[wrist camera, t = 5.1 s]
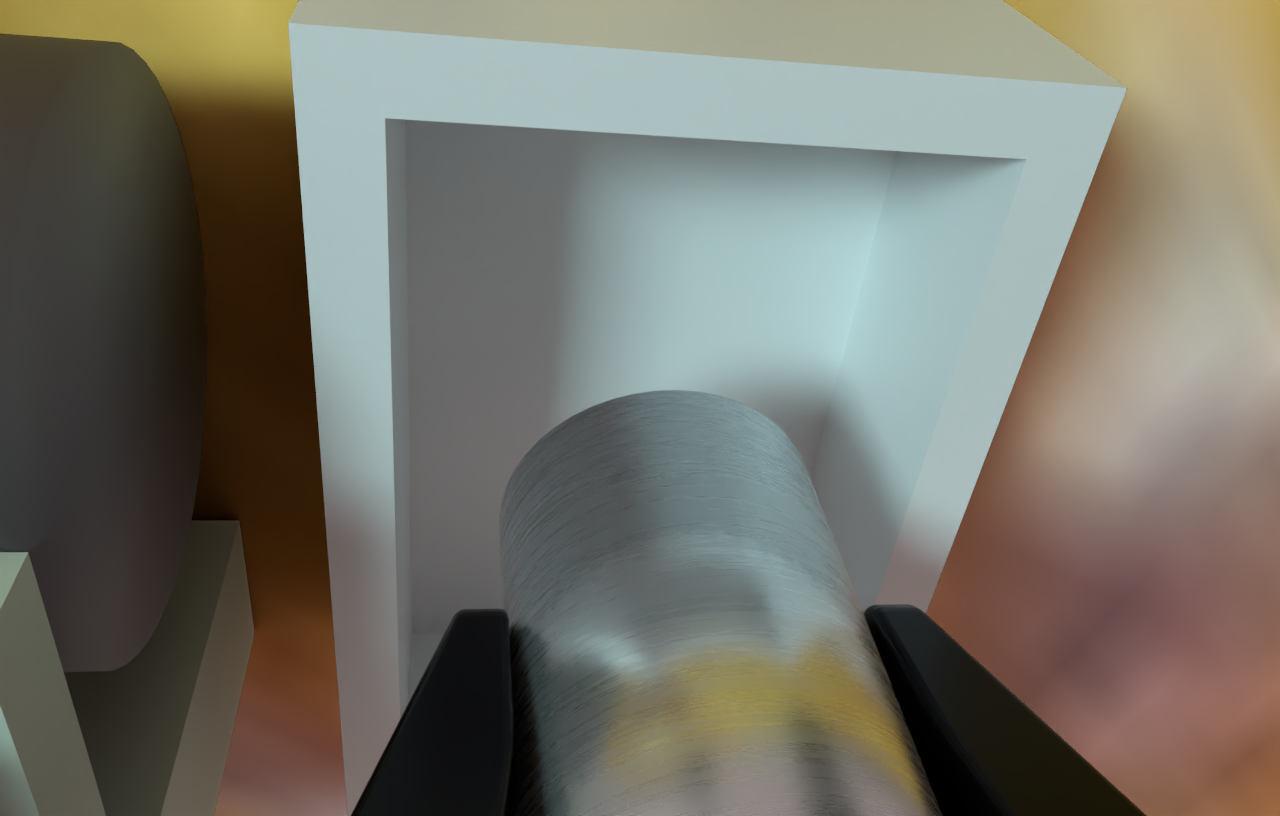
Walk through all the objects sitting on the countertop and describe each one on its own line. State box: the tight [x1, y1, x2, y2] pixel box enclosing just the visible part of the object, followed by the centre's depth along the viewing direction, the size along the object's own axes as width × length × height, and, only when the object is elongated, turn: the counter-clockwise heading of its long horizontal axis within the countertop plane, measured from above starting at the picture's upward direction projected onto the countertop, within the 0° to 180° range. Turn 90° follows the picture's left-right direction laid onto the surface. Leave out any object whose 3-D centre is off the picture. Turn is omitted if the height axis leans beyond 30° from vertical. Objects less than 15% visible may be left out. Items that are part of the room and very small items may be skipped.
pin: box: [499, 390, 943, 816], centre depth 8 cm, size 3×3×6 cm
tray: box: [288, 0, 1127, 816], centre depth 11 cm, size 6×9×3 cm, turn 173°
